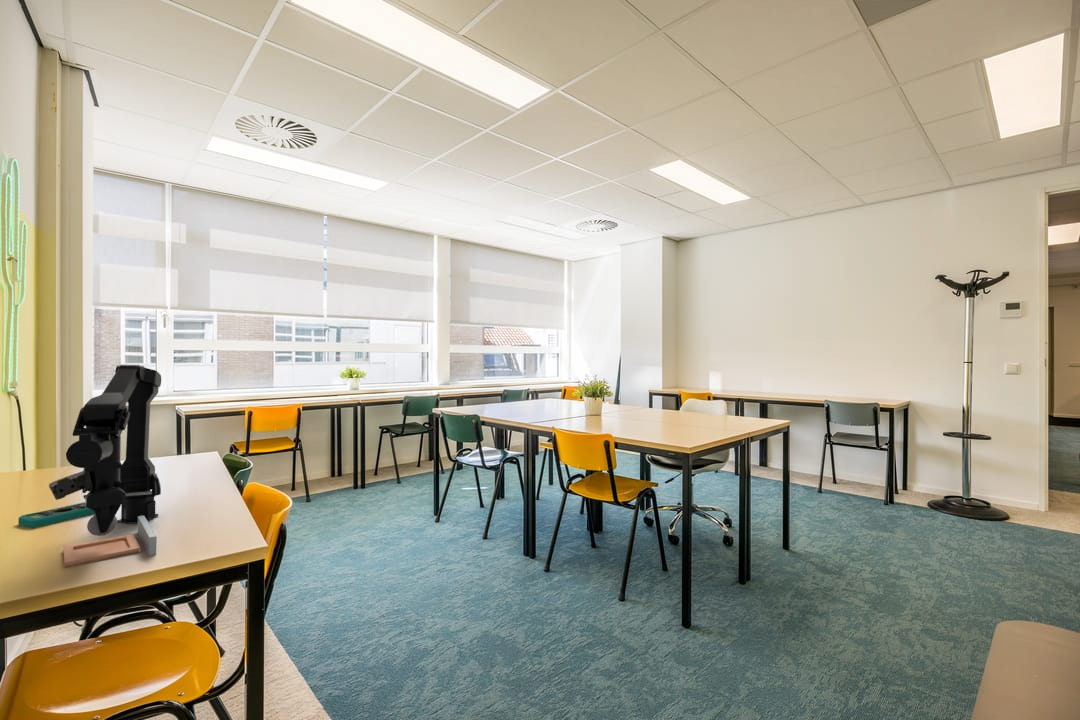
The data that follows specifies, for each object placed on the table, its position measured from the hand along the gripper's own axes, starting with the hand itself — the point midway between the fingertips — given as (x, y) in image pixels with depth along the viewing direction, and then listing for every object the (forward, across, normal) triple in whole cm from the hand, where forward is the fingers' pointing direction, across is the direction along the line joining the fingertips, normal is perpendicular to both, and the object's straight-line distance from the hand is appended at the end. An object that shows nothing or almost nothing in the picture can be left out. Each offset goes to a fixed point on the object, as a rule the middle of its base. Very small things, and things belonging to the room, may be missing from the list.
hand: (102, 529), depth 110 cm
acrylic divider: (+5, 0, +8) cm, 9 cm away
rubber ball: (-1, 0, 0) cm, 1 cm away
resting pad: (+5, 0, 0) cm, 5 cm away
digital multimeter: (+6, -37, -6) cm, 38 cm away
